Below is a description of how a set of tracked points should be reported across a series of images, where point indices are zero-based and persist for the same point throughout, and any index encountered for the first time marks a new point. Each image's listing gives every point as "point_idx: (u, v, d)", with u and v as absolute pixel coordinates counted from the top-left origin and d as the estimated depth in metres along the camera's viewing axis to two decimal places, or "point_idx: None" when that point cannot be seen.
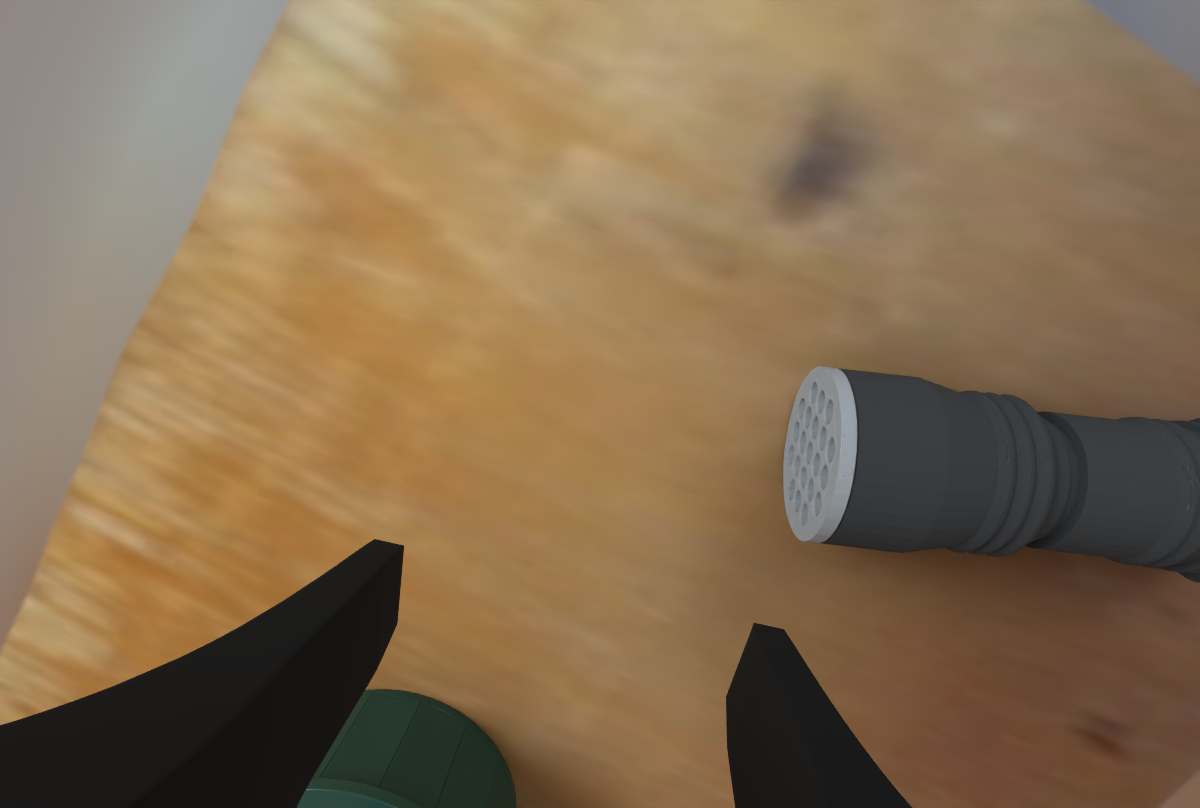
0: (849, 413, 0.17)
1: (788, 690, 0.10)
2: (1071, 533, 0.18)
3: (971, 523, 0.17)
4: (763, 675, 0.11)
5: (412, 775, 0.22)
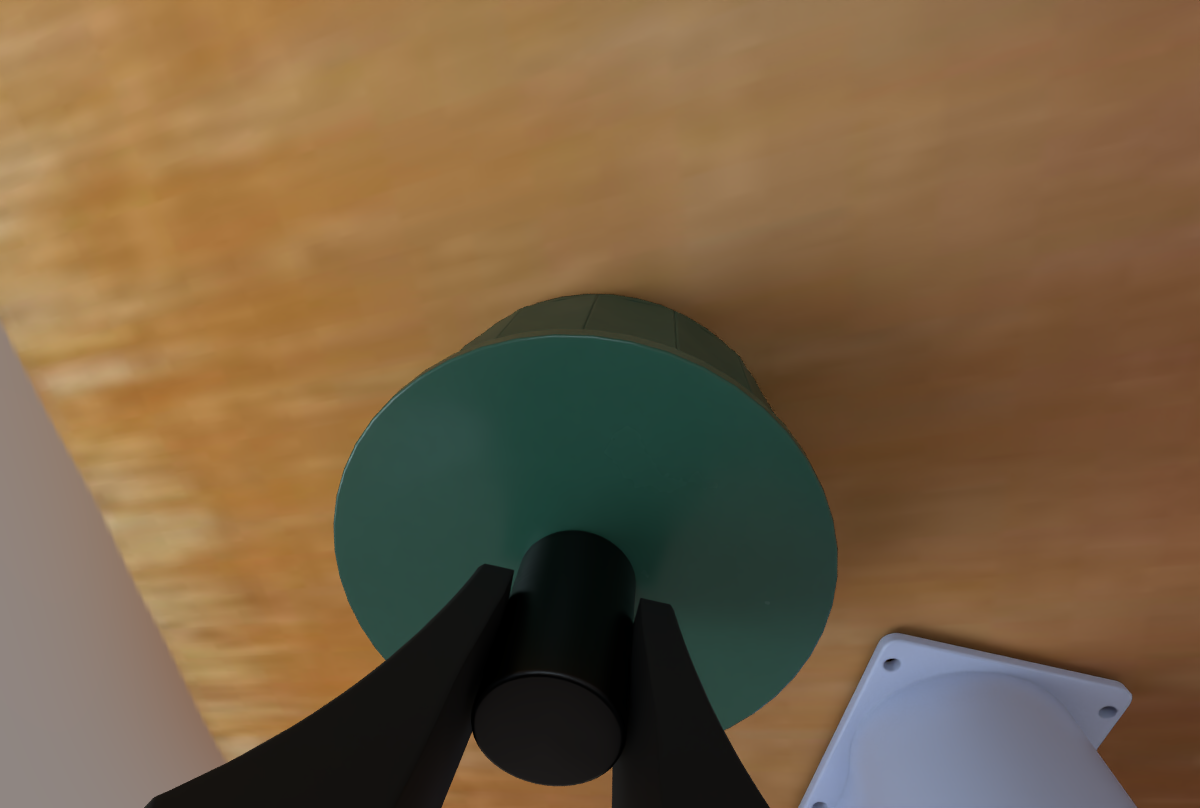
0: None
1: (652, 660, 0.10)
2: None
3: None
4: (638, 648, 0.11)
5: None
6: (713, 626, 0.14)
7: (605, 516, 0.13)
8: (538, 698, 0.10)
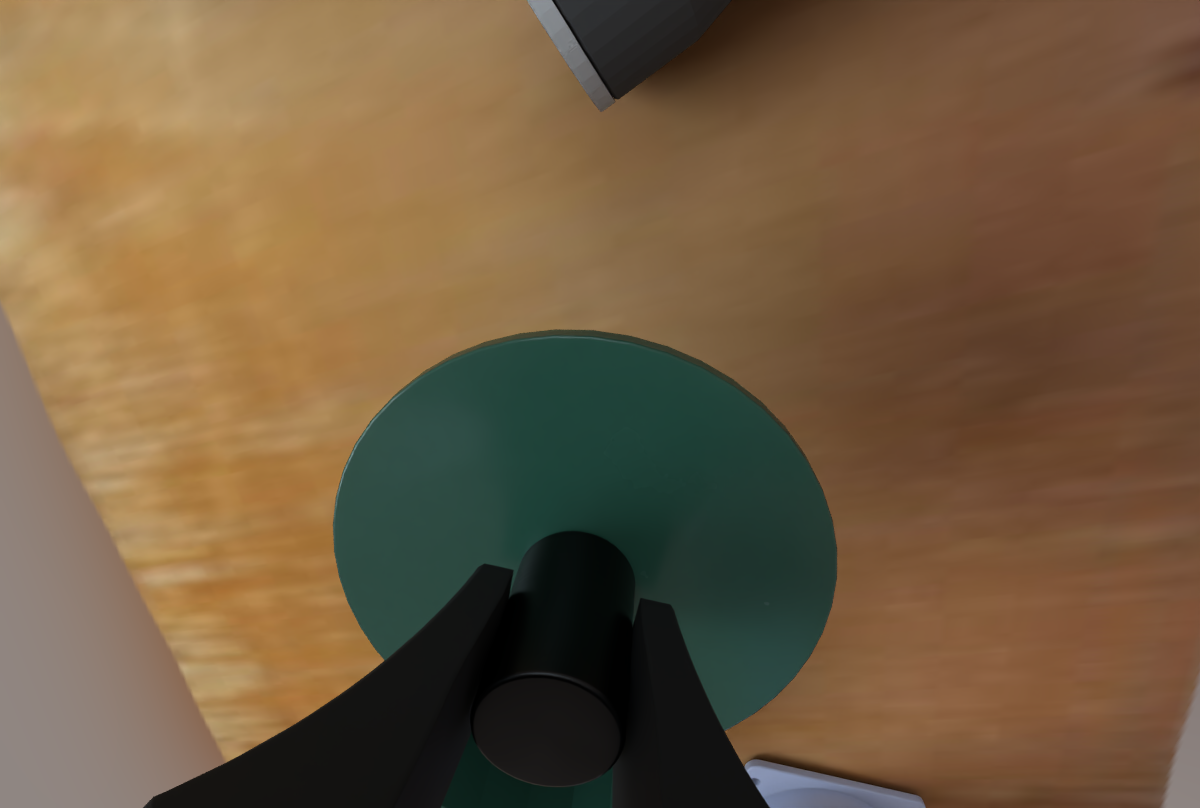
0: None
1: (652, 660, 0.10)
2: None
3: None
4: (638, 648, 0.11)
5: None
6: (713, 627, 0.14)
7: (605, 517, 0.13)
8: (537, 698, 0.10)
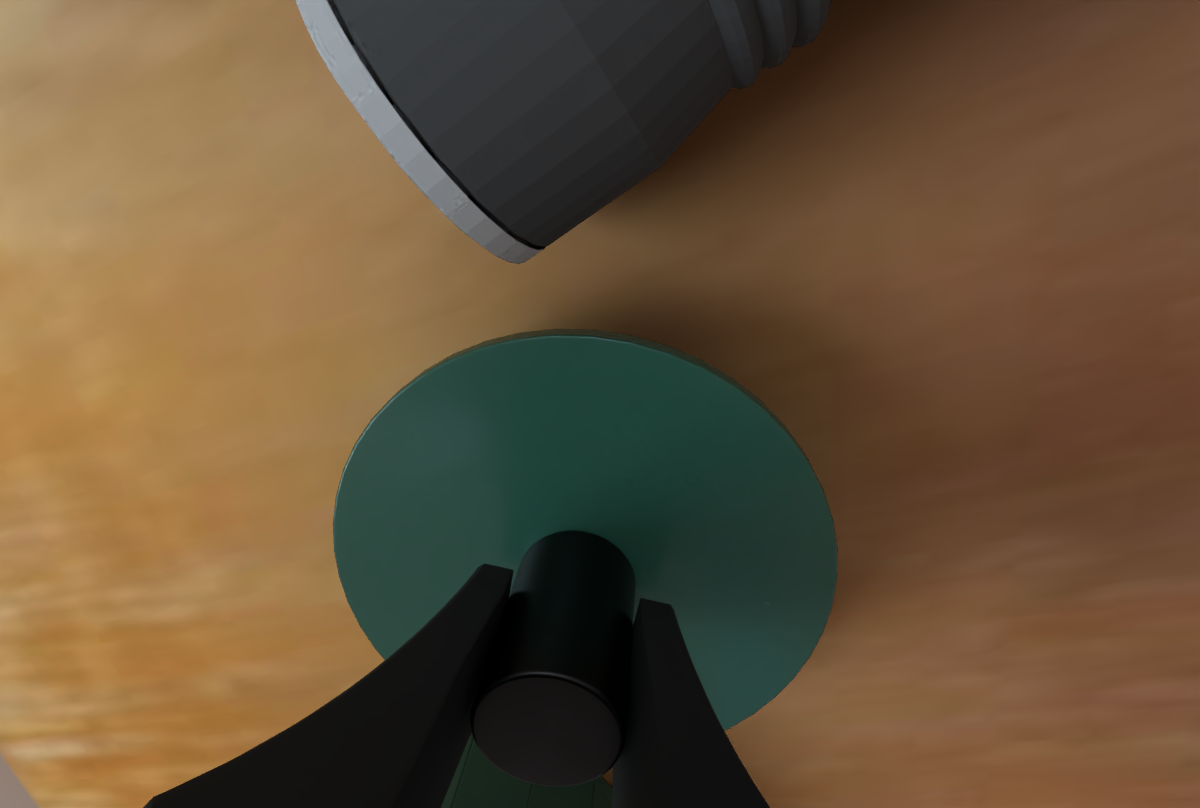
0: None
1: (652, 660, 0.10)
2: None
3: None
4: (638, 648, 0.11)
5: None
6: (713, 626, 0.14)
7: (605, 517, 0.13)
8: (538, 698, 0.10)
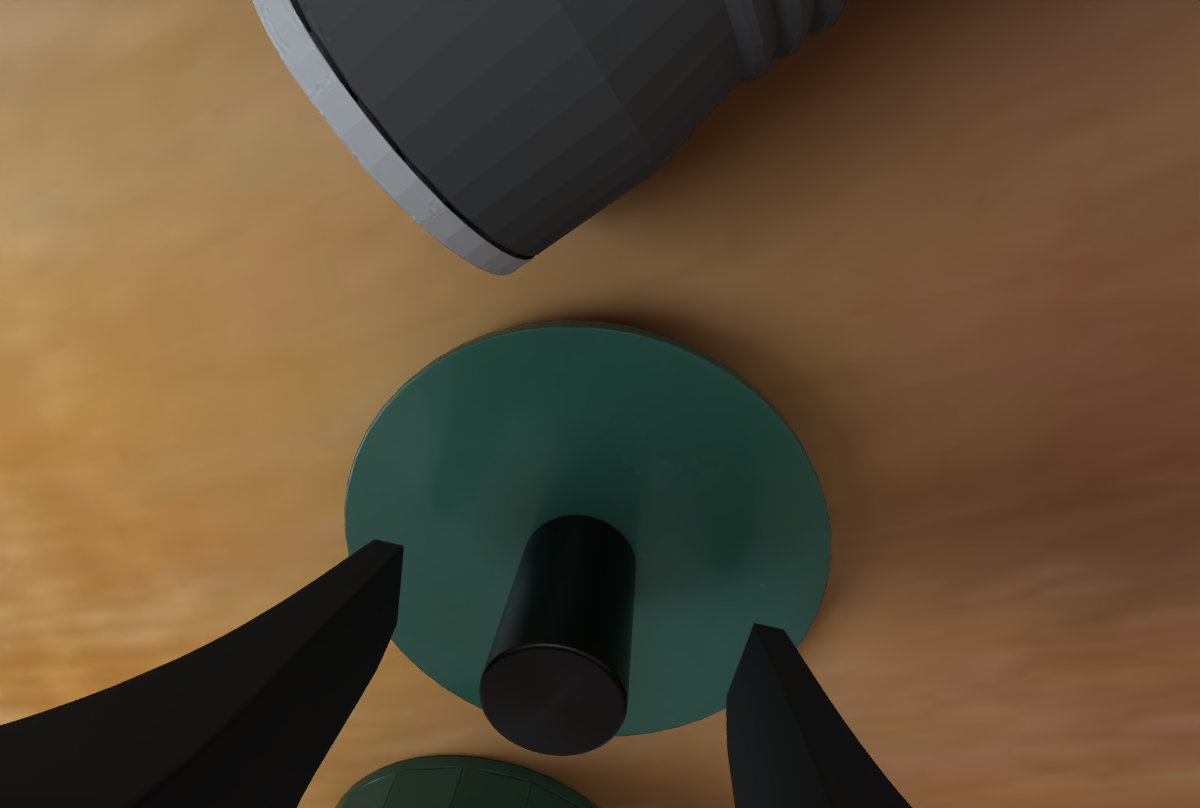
0: None
1: (788, 690, 0.10)
2: None
3: None
4: (763, 675, 0.11)
5: None
6: (711, 608, 0.15)
7: (607, 501, 0.14)
8: (543, 669, 0.10)
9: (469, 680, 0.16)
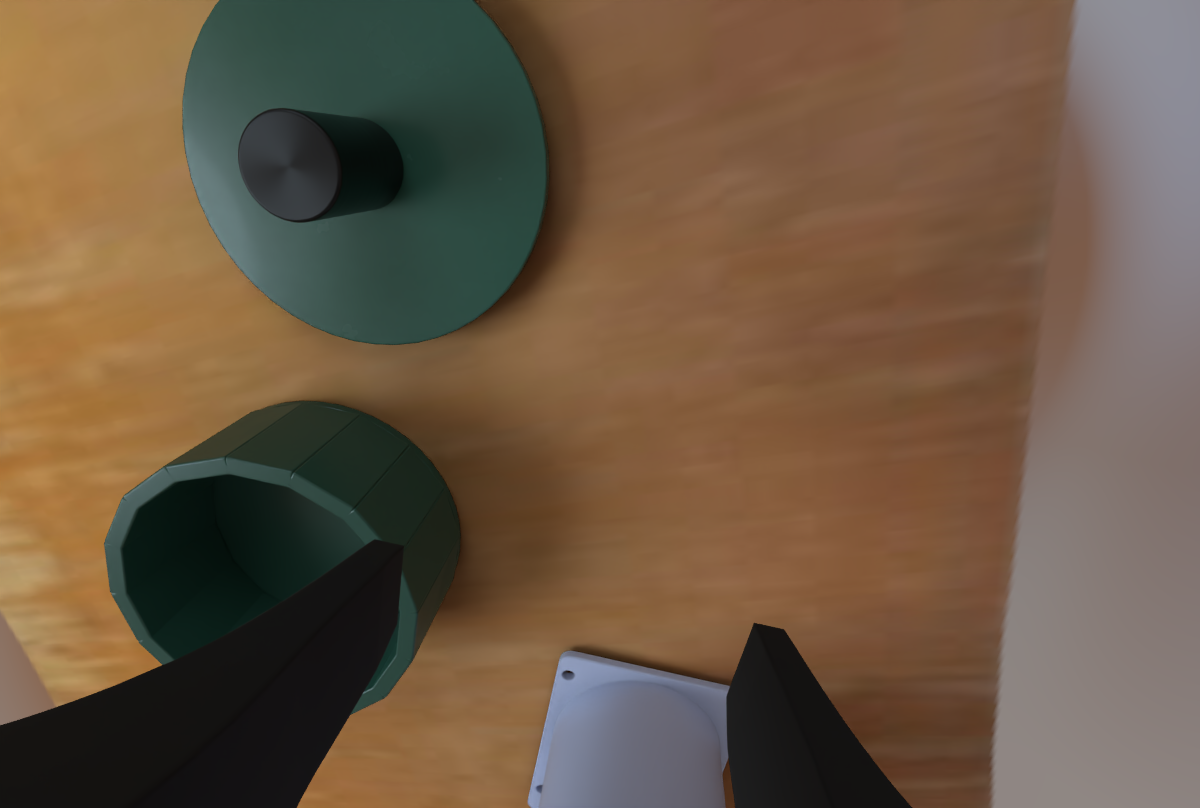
0: None
1: (788, 690, 0.10)
2: None
3: None
4: (763, 675, 0.11)
5: (216, 445, 0.20)
6: (465, 204, 0.19)
7: (375, 105, 0.18)
8: (277, 132, 0.15)
9: (292, 292, 0.20)
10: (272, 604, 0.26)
